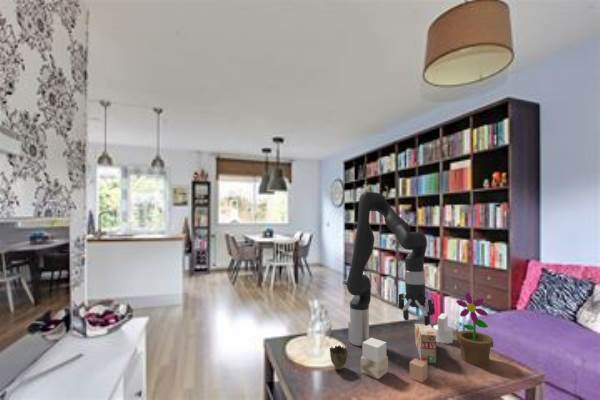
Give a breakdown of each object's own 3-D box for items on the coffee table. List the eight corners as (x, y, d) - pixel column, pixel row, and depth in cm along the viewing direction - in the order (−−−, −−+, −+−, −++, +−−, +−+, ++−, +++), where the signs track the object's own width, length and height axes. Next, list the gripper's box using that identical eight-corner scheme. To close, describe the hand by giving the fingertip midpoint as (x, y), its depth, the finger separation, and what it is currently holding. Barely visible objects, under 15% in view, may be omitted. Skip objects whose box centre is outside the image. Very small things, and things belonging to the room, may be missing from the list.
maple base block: (360, 372, 129) (360, 357, 129) (370, 365, 135) (370, 350, 135) (378, 379, 123) (378, 363, 124) (388, 371, 129) (387, 356, 129)
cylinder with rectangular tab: (435, 335, 167) (435, 312, 167) (454, 339, 162) (454, 315, 162) (431, 340, 160) (431, 316, 160) (450, 345, 154) (450, 320, 155)
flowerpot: (452, 360, 138) (451, 291, 139) (462, 350, 149) (461, 286, 150) (489, 372, 129) (488, 298, 129) (497, 360, 139) (496, 291, 140)
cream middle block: (362, 357, 129) (362, 342, 129) (371, 351, 134) (371, 337, 134) (377, 363, 124) (377, 347, 124) (386, 357, 129) (386, 342, 129)
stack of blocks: (414, 342, 158) (414, 317, 158) (427, 343, 157) (427, 318, 157) (421, 362, 137) (420, 333, 138) (436, 364, 136) (436, 335, 136)
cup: (336, 374, 127) (336, 354, 127) (326, 366, 133) (326, 347, 133) (351, 370, 130) (351, 350, 130) (341, 362, 137) (341, 344, 137)
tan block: (409, 377, 124) (409, 362, 125) (415, 373, 128) (414, 358, 128) (422, 382, 121) (422, 366, 121) (427, 377, 125) (427, 362, 125)
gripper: (394, 280, 130) (395, 320, 130) (427, 285, 120) (429, 329, 119) (403, 278, 135) (404, 316, 135) (436, 282, 125) (438, 324, 124)
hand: (416, 322), depth 127 cm, fingers open, 8 cm apart
